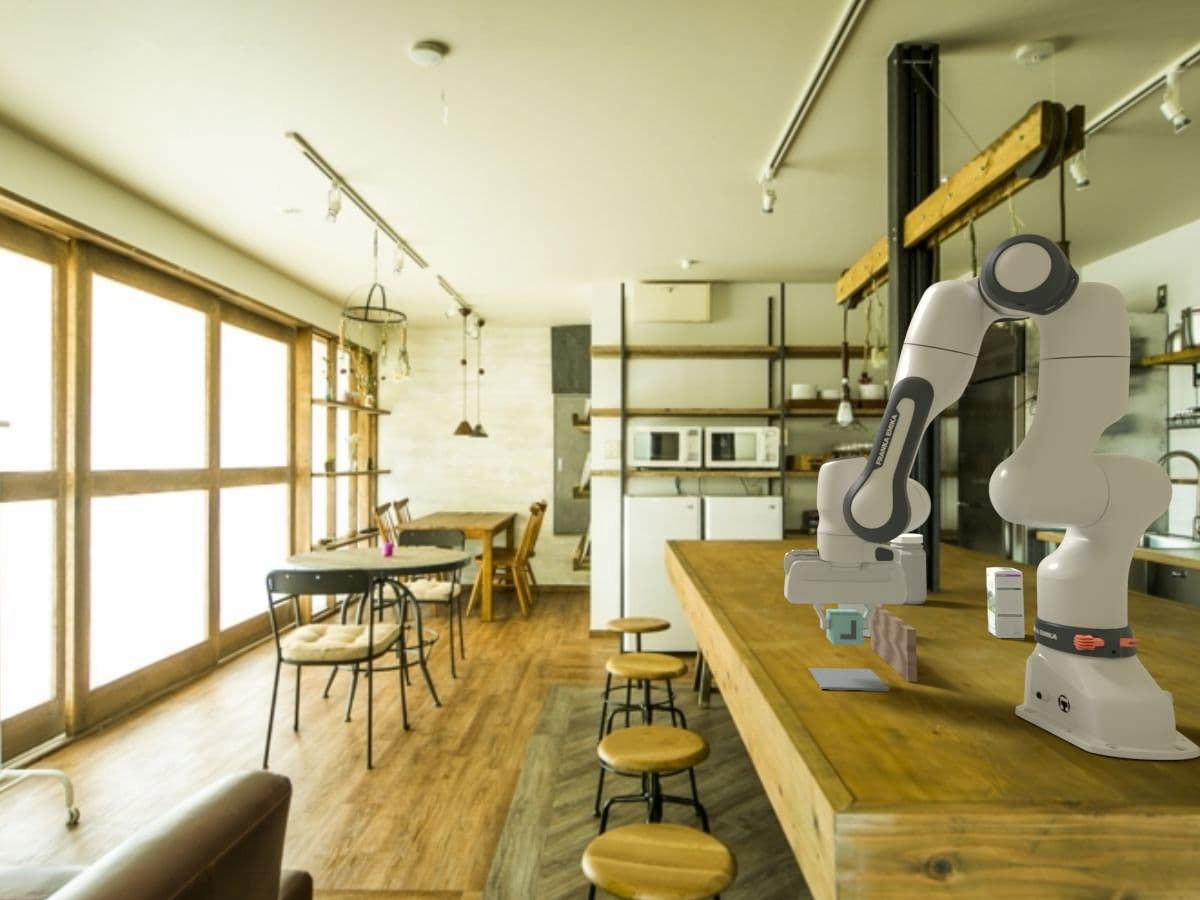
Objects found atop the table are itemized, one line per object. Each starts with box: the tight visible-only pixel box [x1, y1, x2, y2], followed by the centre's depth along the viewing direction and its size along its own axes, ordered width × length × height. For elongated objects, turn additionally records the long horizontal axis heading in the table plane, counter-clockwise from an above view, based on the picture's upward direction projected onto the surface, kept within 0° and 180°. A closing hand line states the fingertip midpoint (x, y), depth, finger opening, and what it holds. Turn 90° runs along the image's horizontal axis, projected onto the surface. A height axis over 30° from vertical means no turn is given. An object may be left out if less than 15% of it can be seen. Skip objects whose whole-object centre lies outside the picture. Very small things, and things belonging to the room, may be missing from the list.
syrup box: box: [985, 566, 1026, 639], centre depth 154 cm, size 6×6×14 cm
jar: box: [889, 533, 928, 605], centre depth 192 cm, size 10×10×18 cm
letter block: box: [825, 608, 864, 646], centre depth 124 cm, size 5×5×5 cm
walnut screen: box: [870, 604, 918, 683], centre depth 133 cm, size 22×2×9 cm, turn 175°
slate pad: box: [807, 667, 891, 692], centre depth 123 cm, size 11×11×1 cm
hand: (844, 628), depth 124 cm, fingers closed on letter block, 5 cm apart
